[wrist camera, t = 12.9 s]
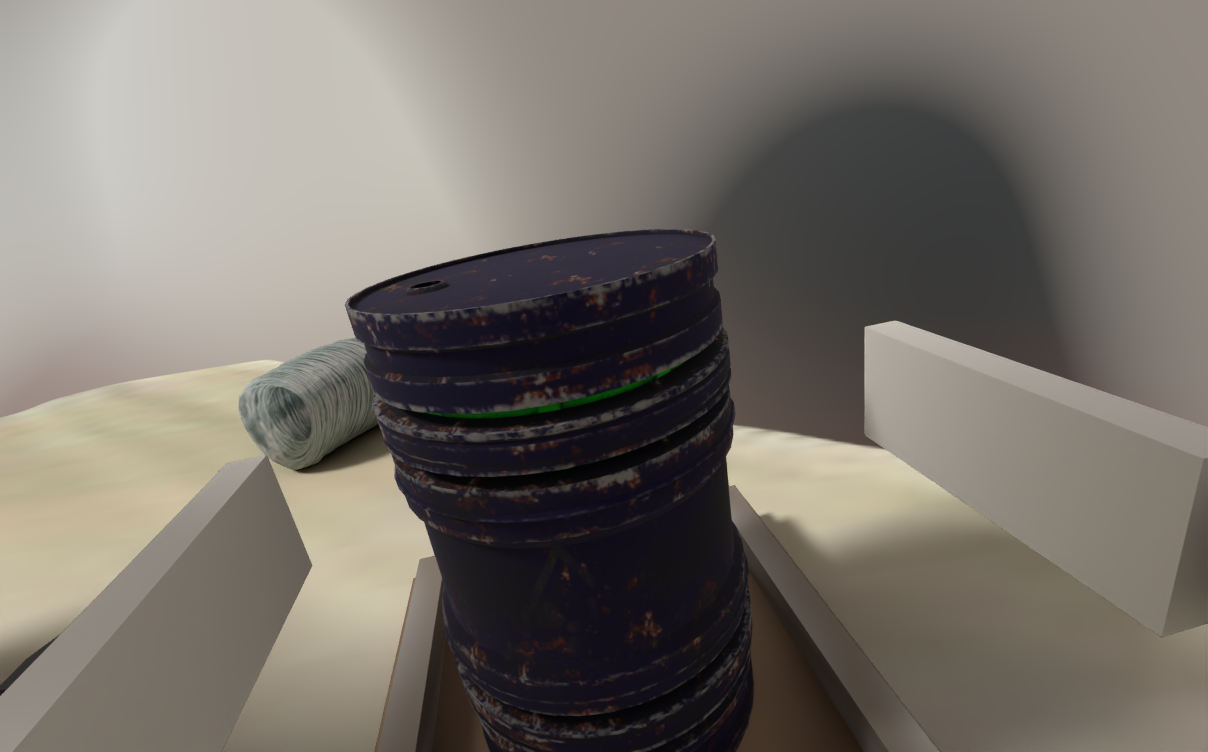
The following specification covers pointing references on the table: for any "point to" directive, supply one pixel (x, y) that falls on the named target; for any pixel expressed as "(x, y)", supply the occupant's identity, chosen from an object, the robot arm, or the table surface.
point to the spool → (310, 404)
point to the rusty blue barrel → (574, 485)
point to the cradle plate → (778, 653)
